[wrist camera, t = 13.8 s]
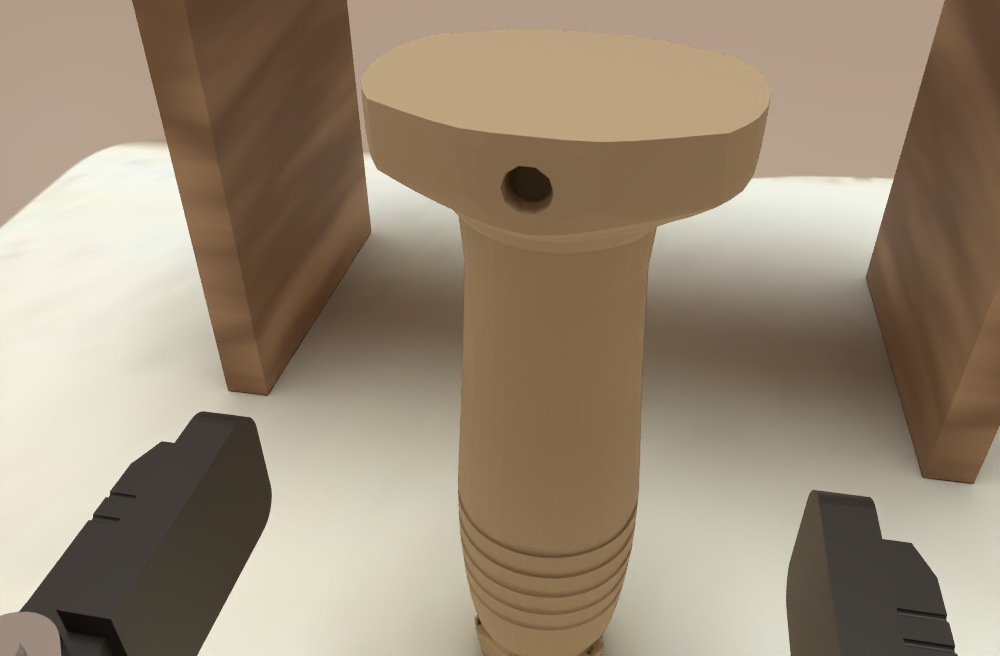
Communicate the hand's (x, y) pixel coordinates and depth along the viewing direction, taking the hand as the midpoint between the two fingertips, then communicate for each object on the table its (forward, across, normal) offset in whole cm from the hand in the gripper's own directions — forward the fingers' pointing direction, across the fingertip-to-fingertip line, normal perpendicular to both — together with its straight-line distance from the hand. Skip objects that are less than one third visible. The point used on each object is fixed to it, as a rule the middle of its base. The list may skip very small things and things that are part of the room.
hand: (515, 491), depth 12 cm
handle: (+5, 0, +11) cm, 12 cm away
